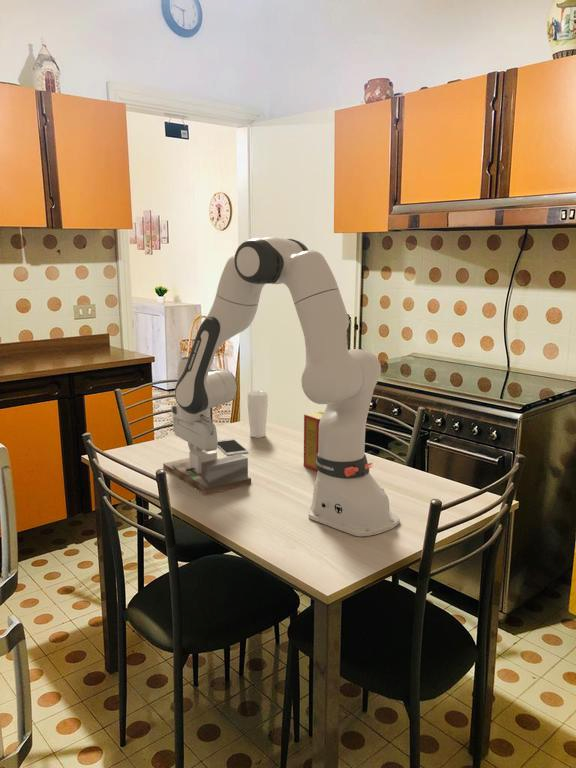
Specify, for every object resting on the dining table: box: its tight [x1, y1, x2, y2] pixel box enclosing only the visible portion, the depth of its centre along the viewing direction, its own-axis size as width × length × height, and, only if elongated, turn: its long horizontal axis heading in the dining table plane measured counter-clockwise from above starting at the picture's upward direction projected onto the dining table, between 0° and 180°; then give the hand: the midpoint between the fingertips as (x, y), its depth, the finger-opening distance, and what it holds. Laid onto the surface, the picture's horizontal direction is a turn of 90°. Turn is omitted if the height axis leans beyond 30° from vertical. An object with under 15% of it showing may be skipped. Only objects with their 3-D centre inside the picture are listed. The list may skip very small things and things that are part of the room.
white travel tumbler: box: [247, 390, 269, 439], centre depth 213 cm, size 7×7×15 cm
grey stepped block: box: [162, 454, 252, 496], centre depth 176 cm, size 25×14×8 cm, turn 36°
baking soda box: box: [303, 410, 325, 473], centre depth 184 cm, size 10×6×16 cm
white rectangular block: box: [186, 449, 218, 474], centre depth 177 cm, size 5×8×5 cm, turn 126°
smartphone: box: [217, 438, 249, 457], centre depth 202 cm, size 7×16×1 cm, turn 24°
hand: (195, 457), depth 181 cm, fingers closed
